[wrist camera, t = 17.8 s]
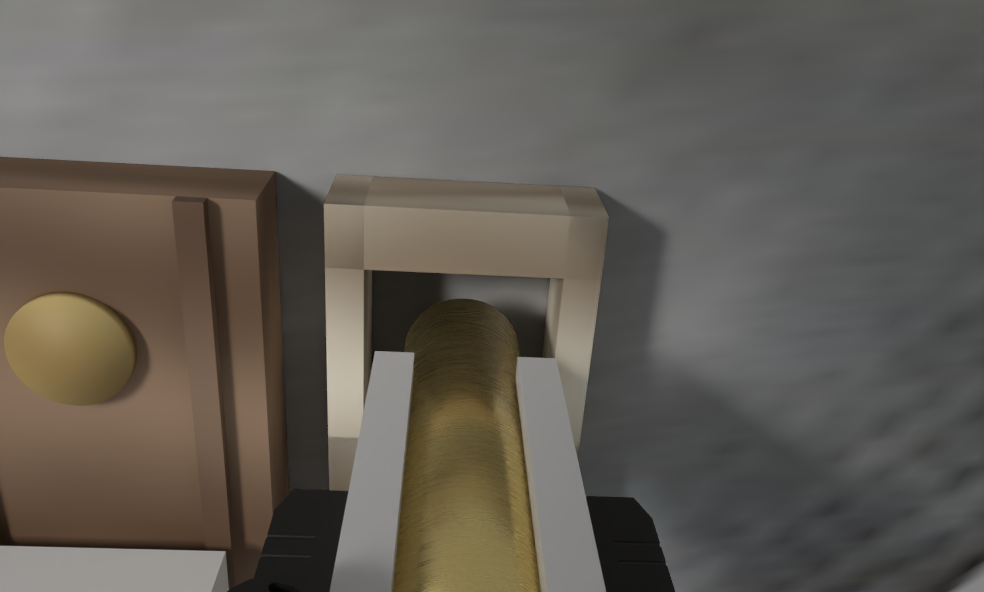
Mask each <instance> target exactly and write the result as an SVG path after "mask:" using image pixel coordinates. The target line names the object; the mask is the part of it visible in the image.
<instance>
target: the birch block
mask: <svg viewBox="0 0 984 592" xmlns="http://www.w3.org/2000/svg"><path fill="white" fill-rule="evenodd" d="M608 225H609V216H608V214H607V212H606V210H605V208H604V206H603V204H602V202H601V200H600V197H599V195H598V193H597V191H596V189H595V188H583V187H564V186H545V185H526V184H507V183H488V182H469V181H450V180H431V179H412V178H392V177H373V176H354V175H336V177H335V179H334V182H333V184H332V186H331V188H330V191H329V193H328V195H327V197H326V200H325V202H324V245H325V297H326V350H327V402H328V455H329V490H336V491H349V486H350V481H351V475H352V470H353V465H354V459H355V454H356V449H357V444H358V438H359V433H360V428H361V422H362V417H363V412H364V407H365V401H366V396H367V391H368V385H369V380H370V375H371V369H372V270H384V271H406V272H427V273H449V274H471V275H493V276H515V277H537V278H550V286H549V296H548V305H547V315H546V325H545V334H544V344H543V353H542V358H556V360H557V365H558V369H559V374H560V379H561V383H562V388H563V393H564V397H565V402H566V407H567V411H568V416H569V421H570V425H571V430H572V435H573V439H574V444H575V449H576V453H577V458H578V453H579V445H580V437H581V430H582V422H583V415H584V407H585V400H586V392H587V384H588V377H589V369H590V362H591V354H592V347H593V339H594V331H595V324H596V316H597V309H598V301H599V294H600V286H601V278H602V271H603V263H604V256H605V248H606V241H607V233H608Z"/></svg>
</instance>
